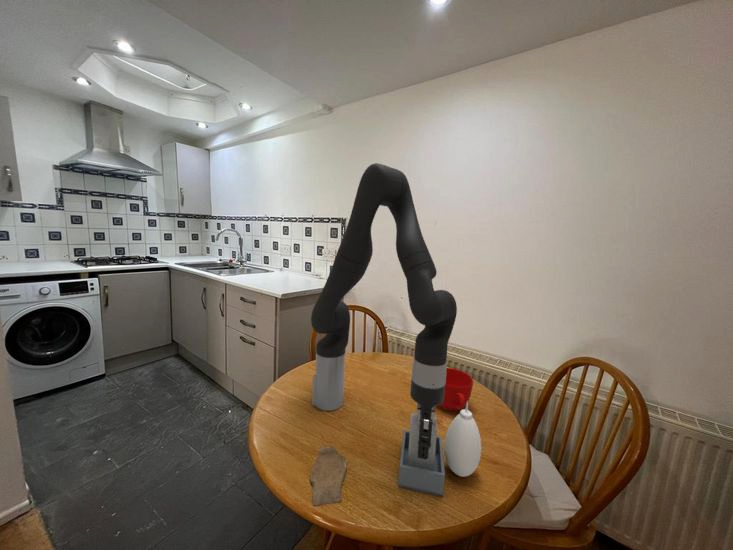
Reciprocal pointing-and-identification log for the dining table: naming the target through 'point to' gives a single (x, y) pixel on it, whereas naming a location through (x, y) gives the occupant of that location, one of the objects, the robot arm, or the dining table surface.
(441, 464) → the bin
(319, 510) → the dining table surface
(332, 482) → the pottery shard
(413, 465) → the skincare box
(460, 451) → the sauce bottle
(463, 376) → the ceramic cup
